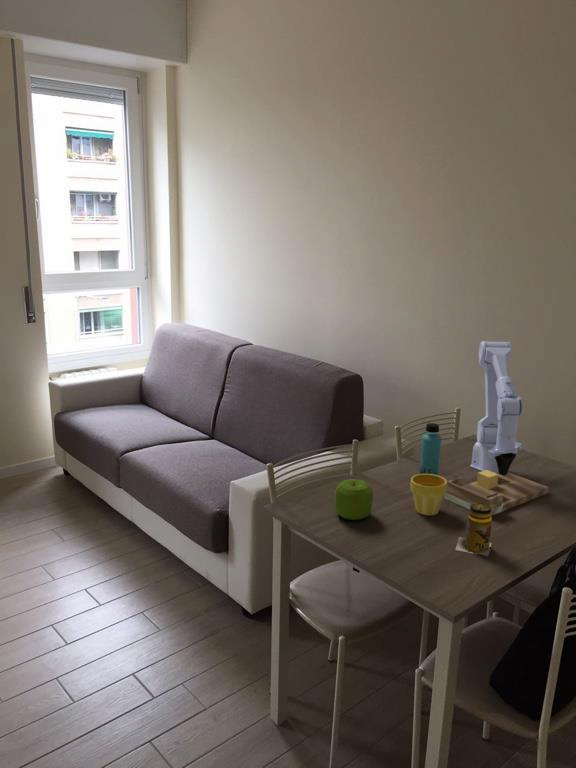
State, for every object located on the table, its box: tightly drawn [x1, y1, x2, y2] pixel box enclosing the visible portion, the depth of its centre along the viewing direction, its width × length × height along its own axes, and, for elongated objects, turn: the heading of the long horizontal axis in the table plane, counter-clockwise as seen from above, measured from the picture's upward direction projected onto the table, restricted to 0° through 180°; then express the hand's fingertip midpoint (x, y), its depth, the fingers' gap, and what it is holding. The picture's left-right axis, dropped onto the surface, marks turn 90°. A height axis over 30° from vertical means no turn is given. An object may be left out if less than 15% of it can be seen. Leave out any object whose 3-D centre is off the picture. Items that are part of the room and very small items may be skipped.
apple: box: [334, 478, 374, 521], centre depth 187 cm, size 11×11×11 cm
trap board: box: [443, 471, 549, 517], centre depth 202 cm, size 30×16×6 cm, turn 126°
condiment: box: [455, 503, 493, 555], centre depth 169 cm, size 7×8×12 cm
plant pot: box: [410, 473, 448, 516], centre depth 190 cm, size 10×10×10 cm
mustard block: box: [476, 470, 499, 489], centre depth 204 cm, size 4×4×4 cm
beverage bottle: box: [419, 422, 443, 476], centre depth 209 cm, size 6×7×20 cm
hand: (502, 474), depth 208 cm, fingers closed
